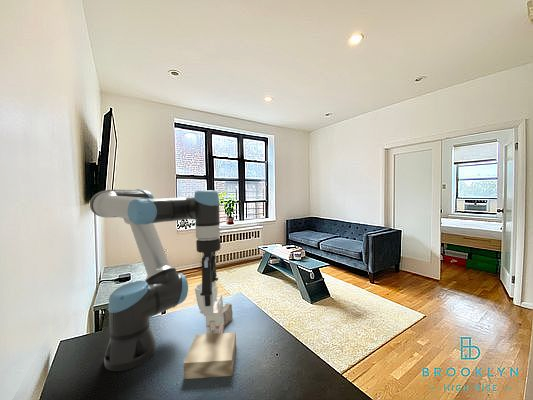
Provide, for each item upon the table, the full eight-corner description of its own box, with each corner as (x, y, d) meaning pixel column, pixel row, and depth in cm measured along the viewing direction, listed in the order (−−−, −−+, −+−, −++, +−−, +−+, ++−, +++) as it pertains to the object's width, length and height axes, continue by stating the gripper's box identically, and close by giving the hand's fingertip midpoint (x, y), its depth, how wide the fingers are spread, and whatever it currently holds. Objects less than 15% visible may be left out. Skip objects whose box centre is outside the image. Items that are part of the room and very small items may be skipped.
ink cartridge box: (211, 330, 91) (210, 294, 91) (224, 330, 91) (222, 293, 91) (206, 345, 83) (204, 304, 82) (220, 344, 83) (218, 304, 82)
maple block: (184, 380, 67) (183, 363, 67) (196, 348, 81) (195, 334, 81) (232, 376, 68) (231, 360, 68) (236, 346, 82) (235, 332, 82)
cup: (190, 315, 71) (189, 288, 70) (207, 301, 80) (207, 277, 80) (210, 318, 68) (210, 291, 68) (226, 303, 78) (225, 279, 78)
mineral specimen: (220, 314, 104) (220, 300, 104) (234, 316, 102) (234, 302, 102) (204, 329, 92) (203, 314, 92) (219, 332, 90) (219, 316, 90)
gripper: (216, 244, 64) (219, 324, 64) (222, 232, 86) (224, 292, 86) (188, 245, 63) (191, 327, 63) (202, 233, 85) (204, 294, 85)
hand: (210, 307), depth 74 cm, fingers closed on cup, 9 cm apart
